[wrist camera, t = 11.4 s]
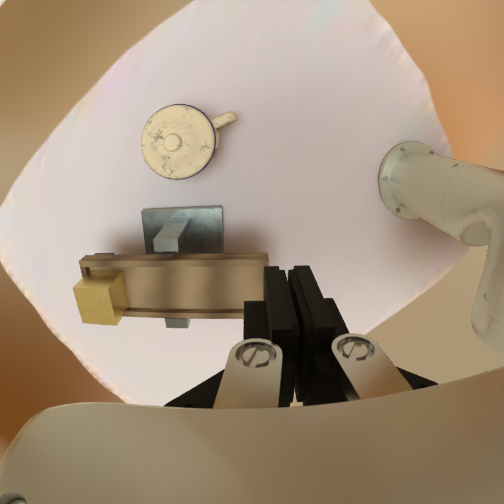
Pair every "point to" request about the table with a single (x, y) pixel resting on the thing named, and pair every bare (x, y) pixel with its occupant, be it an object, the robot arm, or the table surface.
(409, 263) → the table surface
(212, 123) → the teacup with lid
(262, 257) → the balance beam
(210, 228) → the pivot stand
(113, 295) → the block
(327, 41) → the table surface
